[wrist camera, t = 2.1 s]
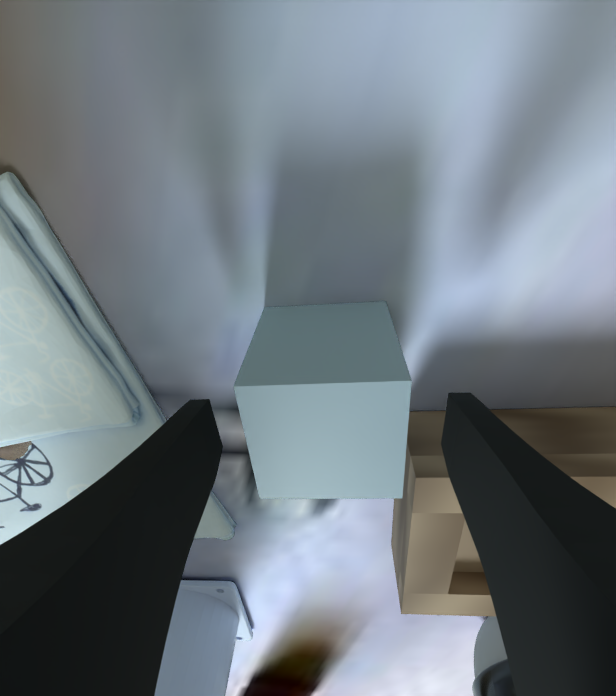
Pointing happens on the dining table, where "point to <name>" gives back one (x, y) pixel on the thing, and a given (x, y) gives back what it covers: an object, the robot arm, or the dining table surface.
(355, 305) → the blue block
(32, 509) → the paper napkin stack
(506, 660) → the dark grey egg shape
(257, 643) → the dining table surface
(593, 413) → the square wooden tray
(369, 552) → the dining table surface
